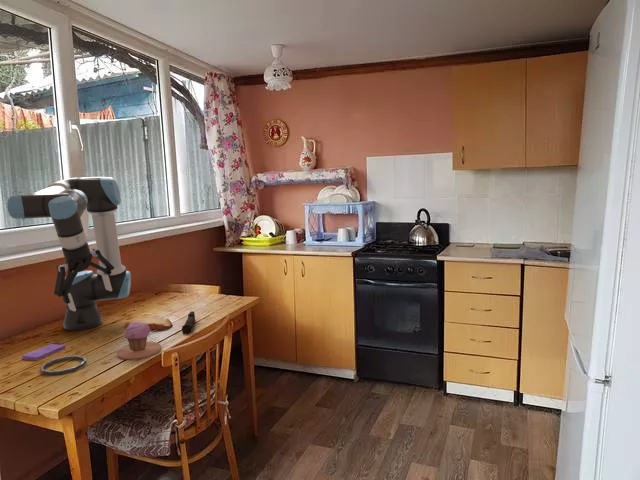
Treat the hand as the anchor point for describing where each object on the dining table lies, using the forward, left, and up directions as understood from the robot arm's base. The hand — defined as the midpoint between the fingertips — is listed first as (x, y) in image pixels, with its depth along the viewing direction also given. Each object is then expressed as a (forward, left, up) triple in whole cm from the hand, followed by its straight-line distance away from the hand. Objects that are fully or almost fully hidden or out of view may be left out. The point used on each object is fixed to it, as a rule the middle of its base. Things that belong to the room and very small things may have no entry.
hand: (91, 299), depth 158 cm
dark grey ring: (-8, -7, -22) cm, 25 cm away
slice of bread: (-11, +36, -23) cm, 44 cm away
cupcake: (+7, +12, -21) cm, 25 cm away
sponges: (-26, 0, -23) cm, 35 cm away
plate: (+7, +12, -22) cm, 26 cm away
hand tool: (+6, +41, -23) cm, 47 cm away
